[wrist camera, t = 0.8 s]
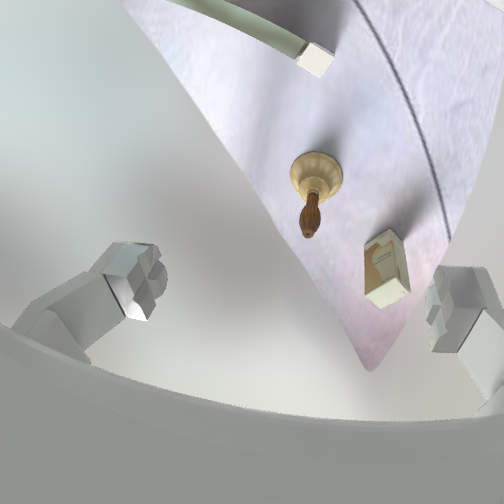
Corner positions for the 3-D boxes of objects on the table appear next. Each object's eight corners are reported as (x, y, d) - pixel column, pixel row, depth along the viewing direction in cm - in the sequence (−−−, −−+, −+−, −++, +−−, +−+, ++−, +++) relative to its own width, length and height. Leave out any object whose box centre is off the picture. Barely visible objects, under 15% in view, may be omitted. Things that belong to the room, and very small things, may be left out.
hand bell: (302, 142, 44) (286, 191, 32) (351, 166, 45) (355, 224, 33) (282, 185, 50) (260, 245, 38) (328, 207, 50) (321, 272, 38)
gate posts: (158, -26, 30) (119, -33, 23) (334, 54, 35) (334, 57, 27) (150, -11, 32) (111, -14, 25) (322, 70, 36) (319, 78, 29)
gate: (180, -19, 30) (151, -25, 24) (311, 41, 33) (306, 41, 27) (172, -4, 32) (142, -8, 26) (301, 56, 35) (293, 59, 29)
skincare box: (389, 226, 49) (397, 275, 40) (403, 242, 50) (413, 292, 41) (361, 246, 53) (363, 296, 44) (376, 260, 54) (379, 311, 45)
